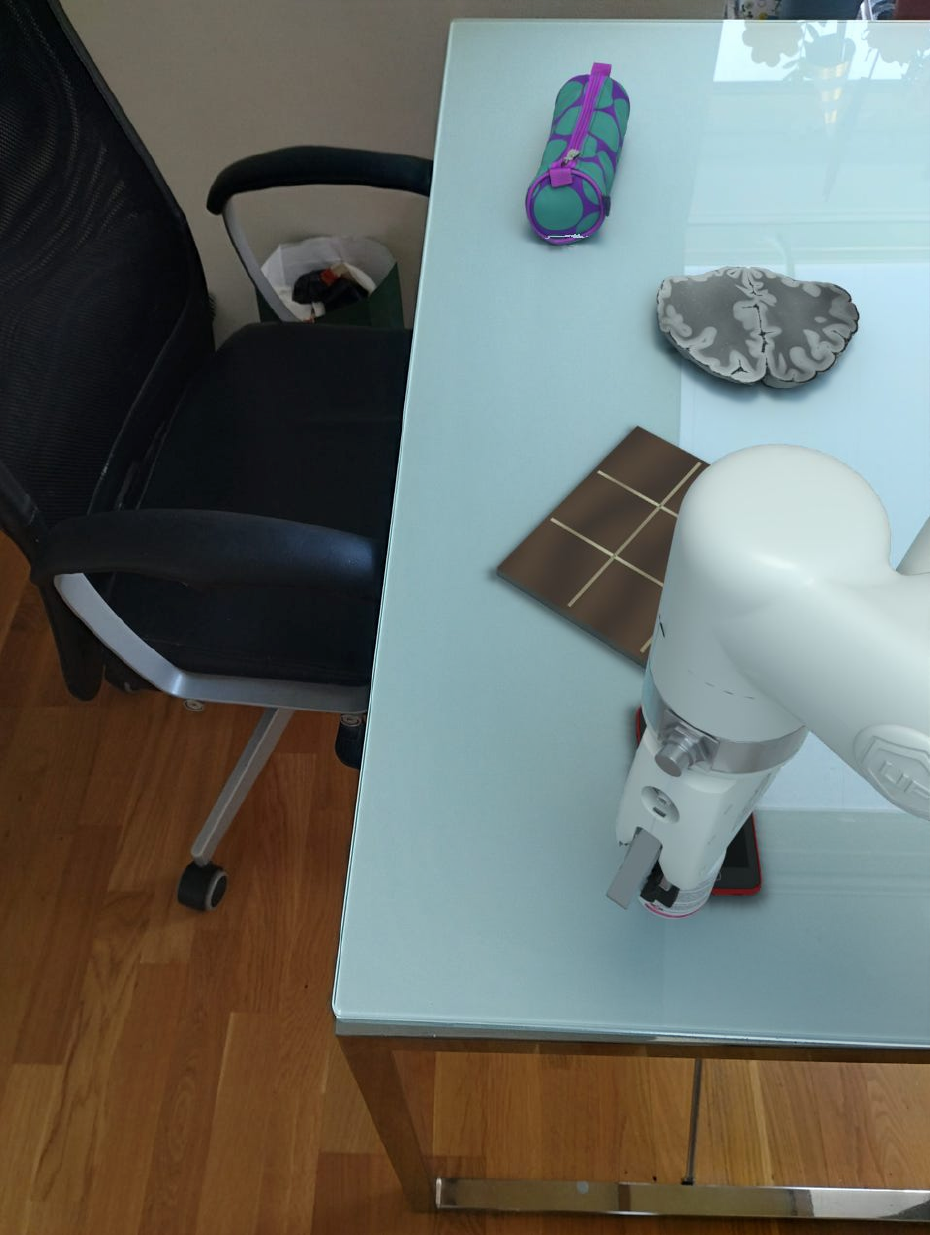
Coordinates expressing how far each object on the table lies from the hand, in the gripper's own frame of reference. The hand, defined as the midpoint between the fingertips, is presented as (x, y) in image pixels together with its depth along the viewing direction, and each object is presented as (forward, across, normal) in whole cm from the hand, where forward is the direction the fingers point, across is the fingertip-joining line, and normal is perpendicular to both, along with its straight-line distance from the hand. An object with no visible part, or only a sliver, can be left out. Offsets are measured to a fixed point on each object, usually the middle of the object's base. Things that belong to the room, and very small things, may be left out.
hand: (675, 851), depth 61 cm
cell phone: (+13, +10, +3) cm, 16 cm away
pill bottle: (+4, 0, 0) cm, 4 cm away
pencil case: (+12, +65, +52) cm, 84 cm away
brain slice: (+12, +55, +24) cm, 61 cm away
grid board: (+12, +27, +16) cm, 34 cm away
